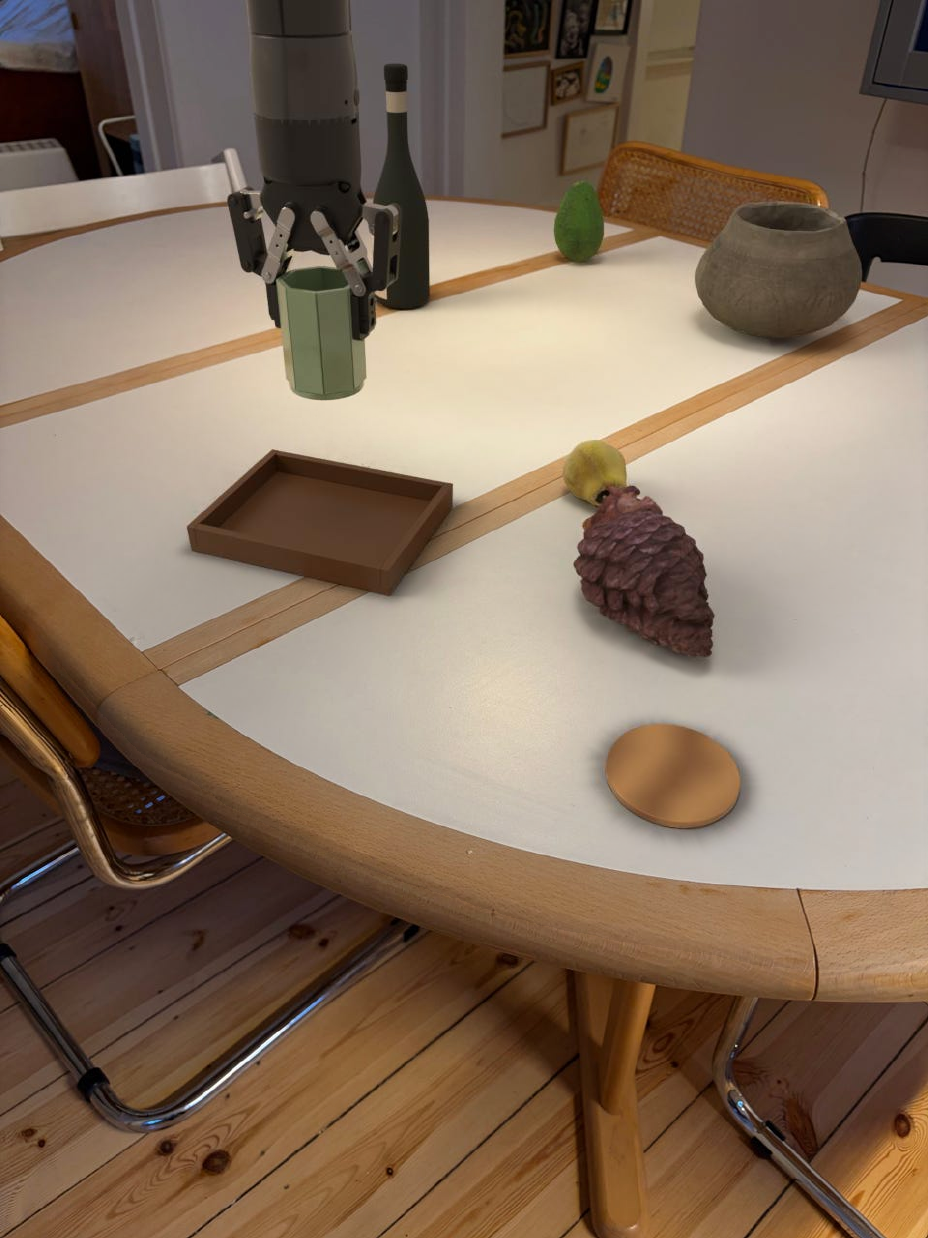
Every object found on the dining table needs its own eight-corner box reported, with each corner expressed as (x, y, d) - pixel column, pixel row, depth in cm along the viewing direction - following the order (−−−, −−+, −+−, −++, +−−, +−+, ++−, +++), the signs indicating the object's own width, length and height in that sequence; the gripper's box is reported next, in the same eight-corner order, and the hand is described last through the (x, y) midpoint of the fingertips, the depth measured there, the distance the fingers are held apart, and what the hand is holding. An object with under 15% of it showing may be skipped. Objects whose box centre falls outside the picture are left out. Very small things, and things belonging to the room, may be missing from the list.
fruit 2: (595, 533, 88) (541, 473, 94) (641, 532, 91) (586, 474, 97) (621, 482, 84) (564, 423, 90) (668, 483, 88) (609, 426, 94)
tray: (191, 550, 85) (186, 526, 83) (275, 471, 96) (272, 448, 95) (389, 595, 80) (388, 570, 78) (453, 506, 91) (453, 483, 90)
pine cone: (762, 649, 74) (750, 596, 66) (654, 712, 76) (629, 668, 67) (652, 496, 84) (629, 433, 75) (557, 555, 85) (524, 498, 76)
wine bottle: (371, 310, 133) (359, 68, 115) (378, 291, 139) (368, 59, 121) (427, 311, 133) (424, 69, 114) (432, 293, 139) (430, 60, 121)
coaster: (591, 806, 62) (592, 800, 61) (620, 717, 68) (621, 711, 68) (730, 844, 59) (731, 838, 59) (745, 748, 66) (747, 742, 66)
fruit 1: (578, 250, 156) (585, 172, 149) (610, 262, 151) (619, 183, 144) (542, 258, 153) (547, 179, 145) (573, 271, 148) (580, 190, 140)
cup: (276, 393, 79) (264, 286, 73) (310, 365, 84) (301, 262, 78) (345, 405, 77) (338, 296, 72) (376, 376, 82) (371, 271, 76)
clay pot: (830, 370, 118) (863, 248, 109) (668, 339, 126) (685, 223, 117) (858, 316, 134) (888, 205, 124) (711, 291, 141) (730, 185, 132)
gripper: (190, 105, 66) (223, 335, 76) (377, 122, 63) (385, 360, 73) (244, 89, 72) (268, 305, 82) (418, 104, 68) (420, 328, 78)
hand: (323, 330), depth 77 cm, fingers closed on cup, 6 cm apart
